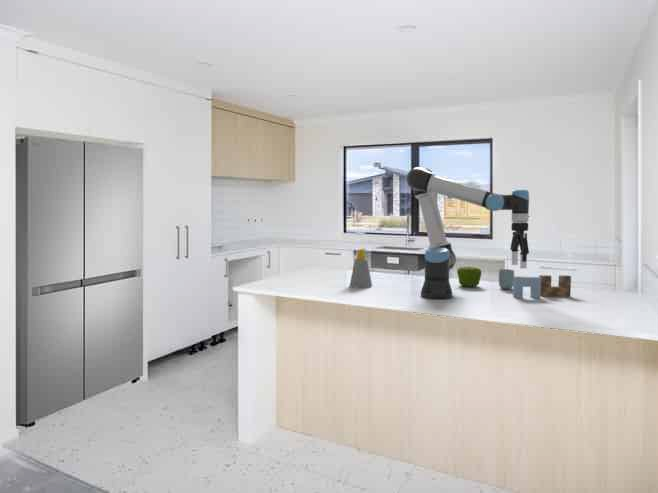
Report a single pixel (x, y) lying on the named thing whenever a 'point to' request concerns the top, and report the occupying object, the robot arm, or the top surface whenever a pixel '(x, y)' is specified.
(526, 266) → the robot arm
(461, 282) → the green rounded piece
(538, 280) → the grey tunnel block
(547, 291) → the brown u-shaped block
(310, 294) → the top surface
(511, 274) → the cup
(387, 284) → the top surface
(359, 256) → the soap bottle
